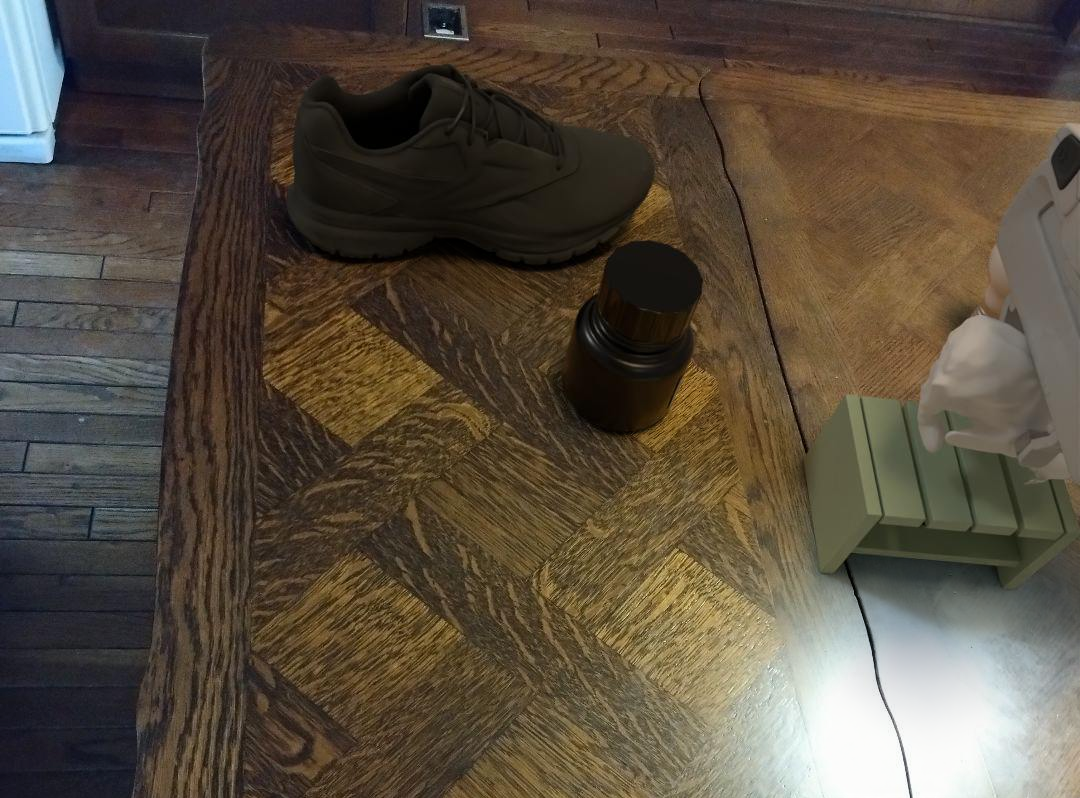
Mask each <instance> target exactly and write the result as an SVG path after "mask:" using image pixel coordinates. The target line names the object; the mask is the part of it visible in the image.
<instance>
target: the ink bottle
mask: <svg viewBox="0 0 1080 798" xmlns="http://www.w3.org/2000/svg"><path fill="white" fill-rule="evenodd" d="M600 280H601V281H600V282H599V287H598V292H597V293H596V294H594V295H592V296H591V297H590V298H588V299H587V300H586V301H585V302H584V303H583V304H582V305H581V307H580V308H579V310H578V312H577V314H576V315H575V319H574V322H573V326H572V330H571V333H570V338H569V342H568V345H567V350H566V353H565V357H564V360H563V365H562V368H561V369H562V370H561V385H562V389H563V392H564V395H565V397H566V398H567V400H568V402H569V403H570V405H571V406H572V408H574V409H575V411H576V412H577V413H578V414H579V415H580V416H582V417H583V418H584V419H585V420H587V421H588V422H589V423H592V424H594V425H595V426H598V427H600V428H602V429H606V430H609V431H614V432H615V431H616V432H633V431H639V430H642V429H645V428H648V427H651V426H653V425H655V424H656V423H658V422H659V421H660V420H661V419H663V418H664V417H665V416H666V415H667V414H668V413H669V410H670V409H671V407H672V406H673V403H674V401H675V399H676V397H677V395H678V392H679V390H680V388H681V385H682V383H683V380H684V378H685V376H686V373H687V371H688V368H689V365H690V363H691V361H692V358H693V355H694V351H695V336H694V331H693V329H692V326H691V322H692V320H693V317H694V315H695V312H696V310H697V306H698V305H699V303H700V300H701V297H702V295H703V283H704V277H702V274H701V272H700V270H699V266H698V265H697V264H696V263H695V262H694V261H693V260H692V259H691V258H690V257H689V256H688V255H687V254H686V253H685V252H684V251H681V250H679V249H677V248H676V247H673V246H672V245H671V244H669V243H663V242H659V241H654V240H652V239H646V240H632V241H631V240H630V241H629V242H627V243H625V244H622V245H620V246H616V248H615V249H614V251H612V253H611V254H610V255H609V256H608V257H607V259H606V262H605V265H604V269H603V272H602V276H601V279H600Z"/></svg>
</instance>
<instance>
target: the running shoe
mask: <svg viewBox="0 0 1080 798" xmlns="http://www.w3.org/2000/svg"><path fill="white" fill-rule="evenodd" d="M292 163H293V170H294V174H293V183H291V185H289V187H288V189H287V192H286V197H285V198H286V199H285V203H286V210H287V213H288V216H289V218H290V221H291V222H292V223H293V225H294V227H295V228H296V229H297V231H298V232H299V233H300V234H301V236H303V237H304V238H306V240H307V241H308V242H310V243H311V244H312V245H314V246H315V247H318V248H319V249H320V250H322V251H324V252H328V253H329V254H331V255H334V254H336V253H338V254H339V256H341V257H342V258H350V259H355V258H357V259H372V258H373V256H374V255H375V256H376V257H377V258H378V259H382V258H385V259H386V258H387V259H388V258H390V257H391V258H395V257H397V256H402V255H403V253H404V251H407V252H412V251H413V250H416V249H419V248H420V247H424V246H426V245H427V244H428V243H431V242H432V241H433V239H434V238H436V239H446V238H449V239H450V238H454V239H460V240H464V241H465V242H468V243H470V244H471V245H474V246H476V247H478V248H479V249H482V250H483V251H485V252H488V253H493V252H494V253H495V255H496V257H497V258H500V259H502V260H506V261H509V262H514V263H519V262H521V261H523V263H524V264H526V265H535V266H536V265H539V266H540V265H541V266H542V265H546V264H547V263H548V262H549V263H550V264H559V263H562V262H565V261H569V260H570V259H571V258H572V257H573V255H574V256H577V257H578V256H581V255H583V254H586V253H588V252H589V251H592V250H593V249H595V248H596V247H597V245H598V244H604V243H606V242H607V241H609V240H610V239H611V238H613V237H614V236H615V235H616V234H617V233H618V232H619V229H620V228H624V226H625V225H627V224H628V223H629V221H630V220H631V219H632V218H633V217H634V215H635V213H636V211H637V210H638V209H639V207H640V206H641V205H642V204H643V203H644V202H645V200H646V198H647V197H648V195H649V193H650V190H651V188H652V187H653V182H654V178H655V175H656V167H655V162H654V160H653V157H652V155H651V154H650V152H649V150H648V149H647V147H646V146H645V145H644V144H643V143H642V142H641V141H638V140H636V139H635V138H633V137H632V138H631V137H629V136H625V135H620V134H617V133H611V132H606V131H602V130H596V129H592V128H589V127H581V126H571V125H564V124H562V123H560V122H557V121H554V120H552V119H548V118H545V117H543V116H541V115H540V114H538V113H537V112H536V111H534V110H533V109H531V108H530V107H527V106H526V105H524V104H522V103H520V102H519V101H517V100H515V99H514V98H513V97H512V96H510V95H508V94H507V93H505V92H502V91H500V90H498V89H495V88H492V87H487V88H486V87H485V88H479V83H478V82H477V80H472V78H471V75H470V74H469V73H464V74H462V72H461V71H460V70H459V69H458V68H457V67H456V66H455V64H452V63H449V62H444V63H442V64H436V65H427V66H423V67H421V68H418V69H415V70H413V71H411V72H408V73H407V74H405V75H403V76H401V77H400V78H399V79H397V80H396V81H395V82H392V83H391V84H389V85H388V86H385V87H384V88H381V89H378V90H375V91H371V92H369V93H364V94H363V93H362V94H357V93H351V92H347V91H346V90H343V88H342V87H341V85H339V82H338V81H337V80H336V79H335V77H334V76H332V75H330V74H323V75H321V76H319V77H317V78H316V79H315V80H313V81H312V82H311V84H309V85H308V87H307V88H306V90H305V91H304V93H303V95H302V97H301V100H300V102H299V105H298V107H297V110H296V115H295V120H294V131H293V140H292Z"/></svg>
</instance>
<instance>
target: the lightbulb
mask: <svg viewBox="0 0 1080 798" xmlns="http://www.w3.org/2000/svg"><path fill="white" fill-rule="evenodd" d="M987 264H988V265H987V275H988V283H987V285H986V287H985V290H984V293H983V298H982V299H981V301H980V302H979V304H977V306H976V308H974V311H972V313H971V314H970V316H969V318H971V317H974V316H977V315H985V316H988V317H991V318H994V319H996V320H999V319H1000V315H1001V312H1002V308H1003V305H1004V301H1005V298H1006V296H1007V295H1008V294H1009V293H1010V291H1011V289H1010V286H1009V283H1008V280H1007V276H1006V273H1005V270H1004V267H1003V264H1002V261H1001V258H1000V254H999V252H998V249H997V246H996V242H995V243H994V245H993V247H992V248H991V250H990V253H989V257H988V262H987Z"/></svg>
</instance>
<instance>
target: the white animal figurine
mask: <svg viewBox="0 0 1080 798" xmlns="http://www.w3.org/2000/svg"><path fill="white" fill-rule="evenodd" d="M919 391H920V395H919V401H918V402H919V407H918V415H917V418H918V426H919V432H920V435H921V438H922V442H923V445H924V446H925V448H926V450H927V451H928V452H930V453H936V452H938V451H939V450H940V448H941V446H942V444H943V441H944V437H945V441H946V442H947V443H948V444H950V445H953V446H957V447H962V448H967V449H972V450H978V451H984V452H990V453H1001V454H1004V455H1006V456H1009V457H1015V458H1017V454H1016V451H1015V447H1014V443H1015V442H1016V441H1017V440H1020V437H1021V435H1022V434H1023V433H1024V432H1025V431H1026V430H1037V431H1039V432H1041V433H1042V432H1044V431H1047V432H1048V430H1047V427H1048V425H1049V424H1050V423H1051V422H1052V418H1051V415H1050V412H1049V408H1048V405H1047V402H1046V399H1045V396H1044V393H1043V390H1042V386H1041V383H1040V380H1039V377H1038V374H1037V371H1036V368H1035V364H1034V361H1033V358H1032V355H1031V352H1030V349H1029V346H1028V342H1027V339H1026V336H1025V335H1024V334H1023V333H1021V332H1020V331H1018V330H1017V329H1015V328H1014V327H1012V326H1010V325H1009V324H1007V323H1004V322H1002V321H999V320H996V319H994V318H991V317H988V316H985V315H977V316H974V317H971V318H970V317H968V318H966V319H965V320H964V321H963V322H962V323H961V325H959V326H958V327H956V328H955V329H953V330H951V332H949V334H948V336H947V338H946V342H945V343H944V345H943V346H942V349H941V351H940V355H939V358H938V359H937V360H935V361H934V362H933V364H932V365H931V367H930V370H929V375H928V379H927V380H926V381H925V382H924V383H923V384H922V385H921V387H920V390H919ZM943 410H947V411H950V412H955V413H958V414H959V415H961V416H965V417H968V421H969V422H970V423H971V424H972V425H973V426H972V427H970V428H965V429H961V430H954V431H950V432H948V433H947V434H946V436H945V433H946V429H945V425H944V422H943V420H942V418H941V415H940V412H942V411H943ZM1028 468H1029V469H1030V470H1031V471H1033V472H1034V473H1035V476H1036V477H1037V478H1031V479H1033V480H1029V481H1030V482H1027V483H1025V484H1029V483H1033V482H1036V481H1037V482H1036V483H1040V482H1044V481H1047V480H1048V479H1064V481H1065V480H1072V479H1071V477H1070V475H1069V472H1068V468H1067V465H1066V462H1065V459H1064V455H1063V453H1059V454H1058V455H1057V456H1056V457H1055V458H1054V459H1053V460H1052V461H1051V462H1050V463H1049V464H1047V465H1046V466H1044V467H1041V468H1033V467H1028ZM1033 484H1035V483H1033Z"/></svg>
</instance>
